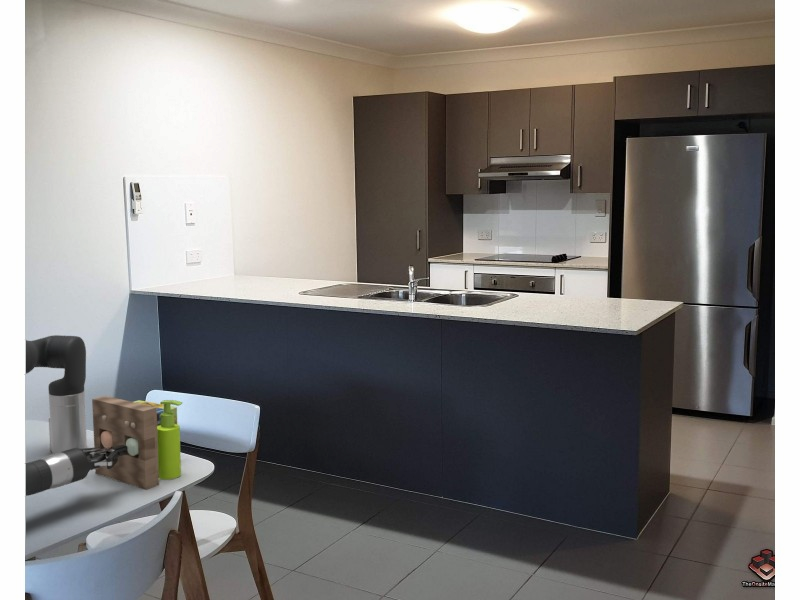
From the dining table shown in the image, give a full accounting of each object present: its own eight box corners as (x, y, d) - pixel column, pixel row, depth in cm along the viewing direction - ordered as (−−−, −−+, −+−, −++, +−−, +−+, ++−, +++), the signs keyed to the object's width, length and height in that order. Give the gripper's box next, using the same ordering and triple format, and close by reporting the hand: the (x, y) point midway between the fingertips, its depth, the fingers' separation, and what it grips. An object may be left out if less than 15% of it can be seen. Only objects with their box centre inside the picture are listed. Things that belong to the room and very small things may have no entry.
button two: (126, 453, 192) (125, 436, 192) (136, 450, 195) (135, 433, 194) (137, 457, 190) (137, 439, 189) (147, 453, 192) (146, 436, 192)
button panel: (94, 473, 200) (91, 399, 197) (108, 469, 203) (105, 395, 201) (145, 490, 189) (142, 411, 186) (159, 484, 193) (156, 407, 190)
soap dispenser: (177, 480, 195) (175, 404, 193) (153, 478, 197) (150, 403, 194) (188, 472, 201) (186, 398, 199) (164, 470, 203) (162, 397, 200)
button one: (101, 446, 198) (100, 430, 197) (111, 443, 200) (110, 427, 200) (112, 449, 195) (111, 433, 195) (121, 446, 198) (121, 430, 197)
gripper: (78, 458, 171) (142, 438, 185) (43, 447, 178) (107, 429, 192) (80, 490, 172) (143, 468, 186) (45, 478, 179) (109, 458, 193)
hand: (125, 448), depth 189 cm, fingers closed
